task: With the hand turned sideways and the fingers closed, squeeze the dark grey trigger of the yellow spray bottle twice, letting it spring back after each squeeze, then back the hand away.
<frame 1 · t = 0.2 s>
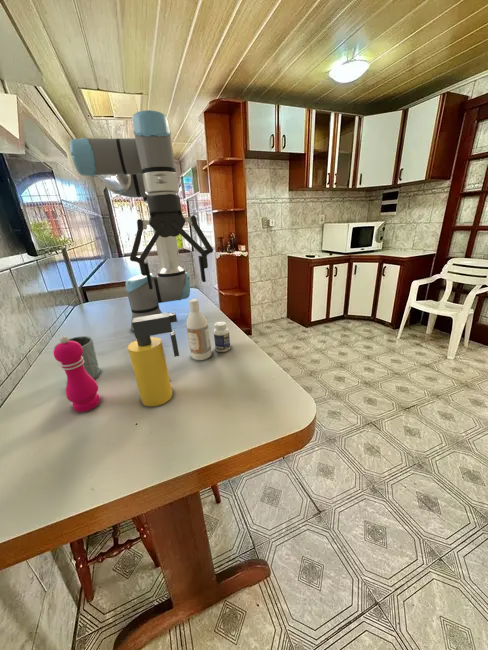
hand: (178, 284, 70), 28 cm above the table, tool pointing down, fingers open, 13 cm apart
pill bottle: (223, 349, 96), on the table
trigger: (174, 343, 68), point 15 cm above the table, slide at 0.0 cm
spray bottle: (157, 396, 72), on the table
gray cup: (85, 377, 84), on the table
pepper mill: (87, 405, 71), on the table
bath foam: (202, 356, 92), on the table
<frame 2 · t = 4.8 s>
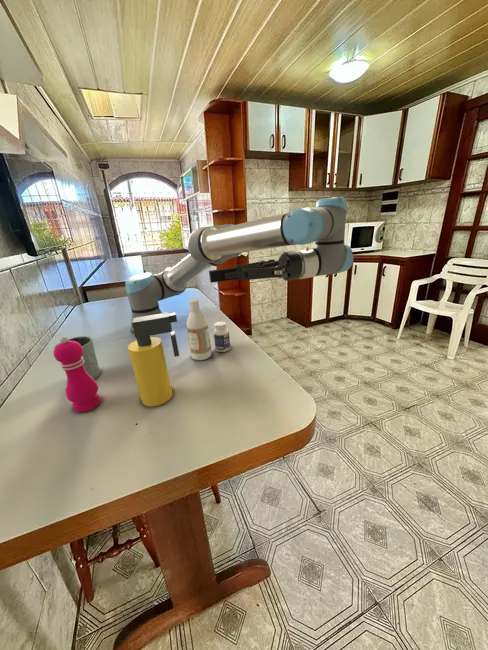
hand: (210, 276, 65), 30 cm above the table, tool horizontal, fingers closed
nothing on the table moved.
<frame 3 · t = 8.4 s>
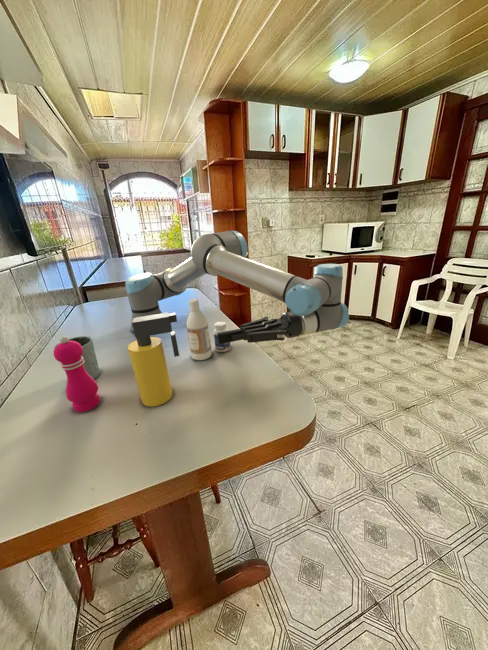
hand: (218, 338, 72), 14 cm above the table, tool horizontal, fingers closed
nothing on the table moved.
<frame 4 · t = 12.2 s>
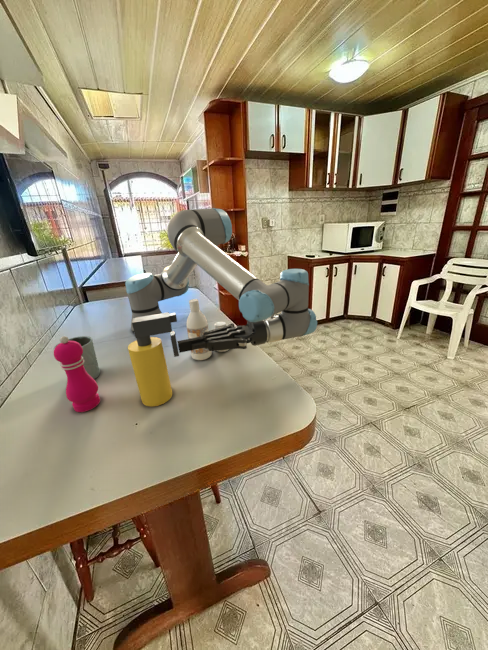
hand: (178, 346, 69), 13 cm above the table, tool horizontal, fingers closed
trigger: (174, 343, 68), point 15 cm above the table, slide at 0.1 cm, touching gripper
everything else where it was.
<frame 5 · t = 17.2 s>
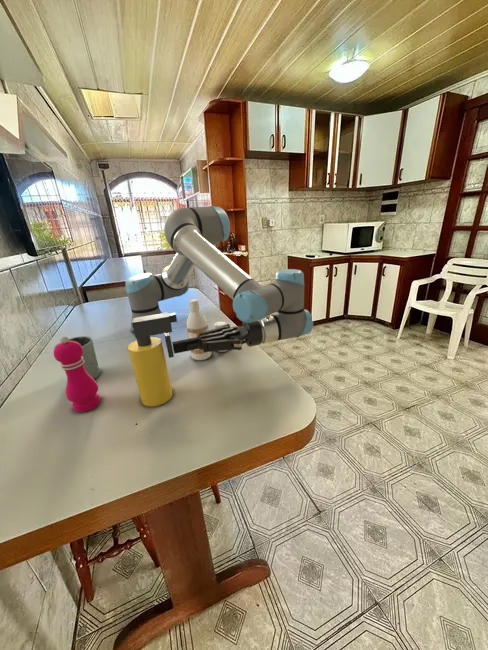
hand: (173, 347, 69), 13 cm above the table, tool horizontal, fingers closed
trigger: (169, 344, 68), point 15 cm above the table, slide at 1.4 cm, touching gripper
everything else where it was.
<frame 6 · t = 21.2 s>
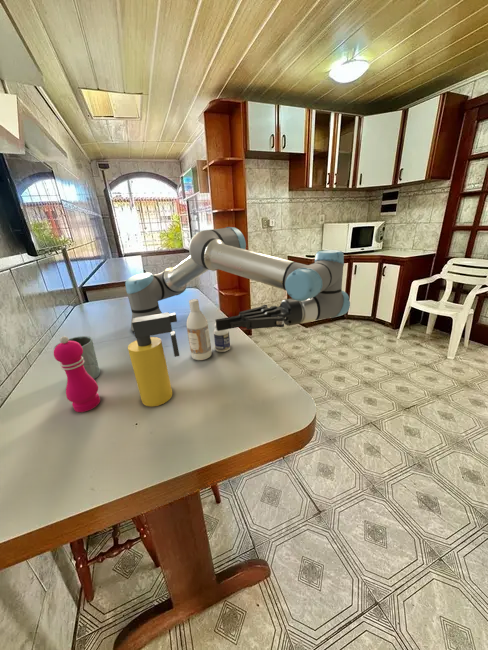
hand: (216, 325, 70), 17 cm above the table, tool horizontal, fingers closed
trigger: (174, 343, 68), point 15 cm above the table, slide at 0.0 cm
everything else where it was.
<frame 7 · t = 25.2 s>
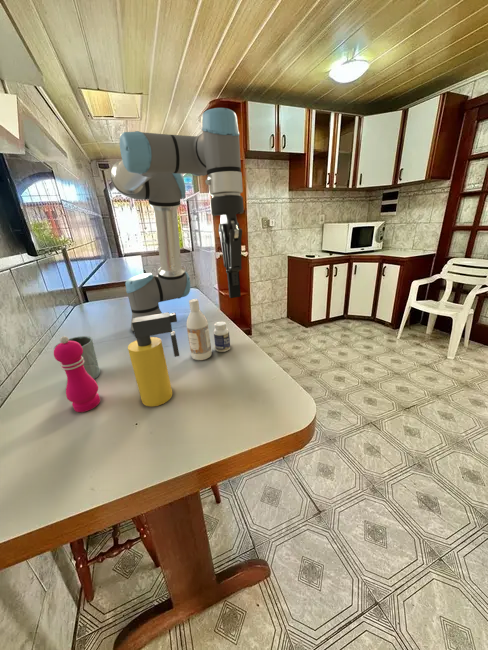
hand: (235, 296, 69), 24 cm above the table, tool pointing down, fingers closed
nothing on the table moved.
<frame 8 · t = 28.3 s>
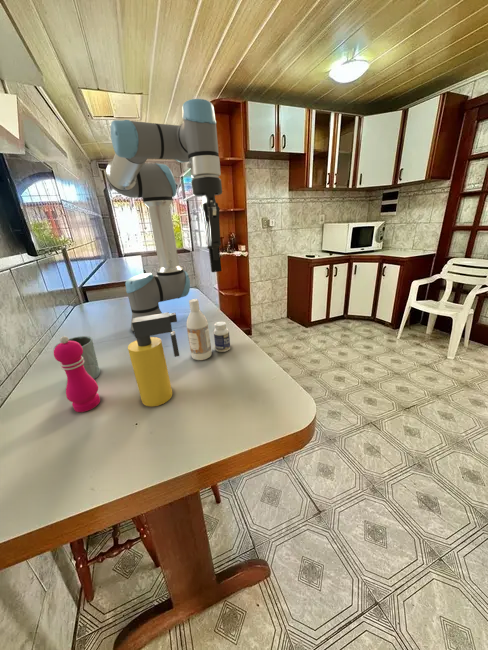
hand: (216, 271, 76), 29 cm above the table, tool pointing down, fingers closed
nothing on the table moved.
at the end: trigger pulled out 1.4 cm at the most during the clip, back to where it started at the end; trigger slide at 0.0 cm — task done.
